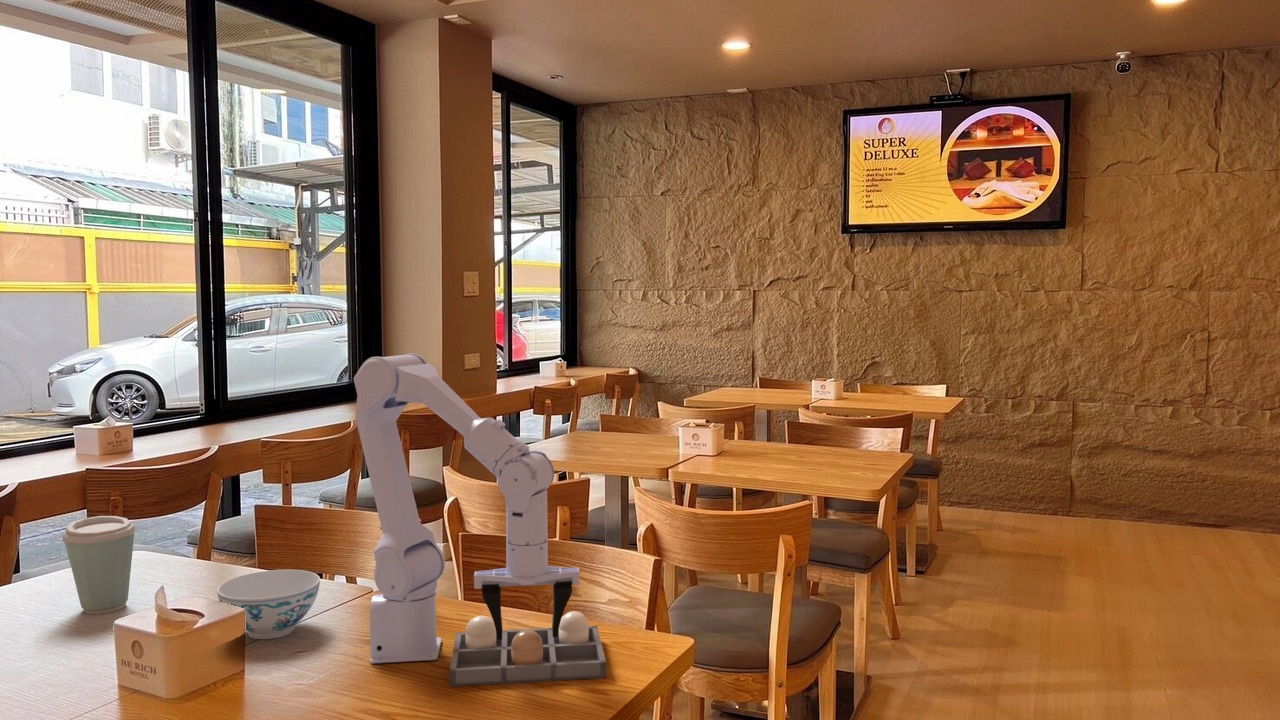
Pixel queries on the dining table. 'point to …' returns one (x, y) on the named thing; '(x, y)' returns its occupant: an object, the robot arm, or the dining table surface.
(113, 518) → the disposable coffee cup
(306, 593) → the chinaware
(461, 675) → the egg carton
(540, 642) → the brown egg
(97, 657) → the dining table surface
